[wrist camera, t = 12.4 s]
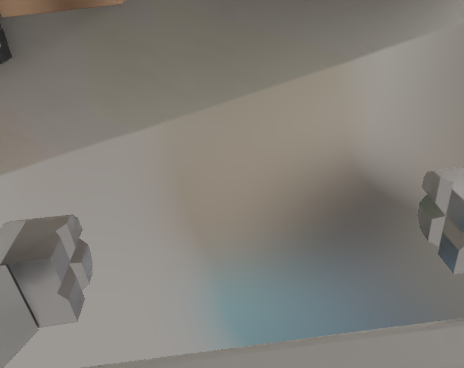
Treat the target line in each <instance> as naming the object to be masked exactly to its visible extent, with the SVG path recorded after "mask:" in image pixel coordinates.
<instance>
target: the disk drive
mask: <svg viewBox="0 0 464 368" xmlns="http://www.w3.org/2000/svg"><path fill="white" fill-rule="evenodd" d="M7 44H8V43H7V40H6V37H5V34H4V31H3V29H2V28H1V25H0V64H3V63H4V62H6V61H8V60H9V59H11V58H12V55H11V54H10V50H9V47H8V45H7Z"/></svg>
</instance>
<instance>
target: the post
mask: <svg viewBox="0 0 464 368" xmlns="http://www.w3.org/2000/svg"><path fill="white" fill-rule="evenodd" d="M125 1H126V0H0V13H1V16H2V17H11V16H20V15H28V14H37V13H46V12H55V11H64V10H73V9H81V8H90V7H99V6H108V5H117V4H123V3H124V2H125Z"/></svg>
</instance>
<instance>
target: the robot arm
mask: <svg viewBox="0 0 464 368" xmlns="http://www.w3.org/2000/svg"><path fill="white" fill-rule="evenodd" d="M422 189H423V190H424V191H425V193H426V194H427V195H426V196H425V197H424V198H423V199H422V201H421V202H420V203H419V207H418V215H417V216H418V222H419V227H420V229H421V232H422V234H423V235H424V237H425V238H426V239H427V241H429V242H431V243H433V244H435V245H437V246H439V250H438V255H439V256H440V258H441V259H442V260H443V261H444V263H445V264H446V265H447V266H448V268H449V269H450V270H451V272H452V273H453V274H459V273H464V166H463V167H456V168H450V169H443V170H436V171H429V172H426V174H425V176H424V178H423V184H422ZM81 232H82V227H81V225H80V222H79V220H78V218H77V217H76V216H75V215H65V216H56V217H46V218H35V219H25V220H18V221H10V222H7V223H5V224H3V226H2V227H1V229H0V368H4V367H5V366H6V365H7V364H8V363H9V361H10V360H11V359H12V358H13V357H14V356H15V355H16V354H17V353H18V352H19V351H20V350H21V348H22V347H23V346H24V345H25V344H26V343H27V342H28V341H29V340H30V339H31V338H32V337H33V336H34V335H35V333H36V332H37V331H38V330H39V329H38V328H41V327H48V326H54V325H61V324H67V323H74V322H78V319H79V316H80V313H81V310H82V306H83V303H84V300H85V297H84V295H83V292H82V290H83V289H84V288H85V287H87V286H88V285H89V284H90V280H91V277H92V257H91V252H90V249H89V246H88V244H86V243H85V242H84V241H82V240H81V239H80V238H79V237H80V235H81ZM82 368H464V318H461V319H453V320H445V321H438V322H430V323H422V324H414V325H406V326H399V327H390V328H383V329H376V330H367V331H359V332H352V333H344V334H336V335H329V336H321V337H313V338H306V339H298V340H291V341H283V342H276V343H267V344H259V345H252V346H244V347H237V348H229V349H221V350H214V351H206V352H198V353H191V354H184V355H175V356H168V357H160V358H152V359H144V360H137V361H129V362H121V363H114V364H106V365H98V366H90V367H82Z"/></svg>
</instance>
